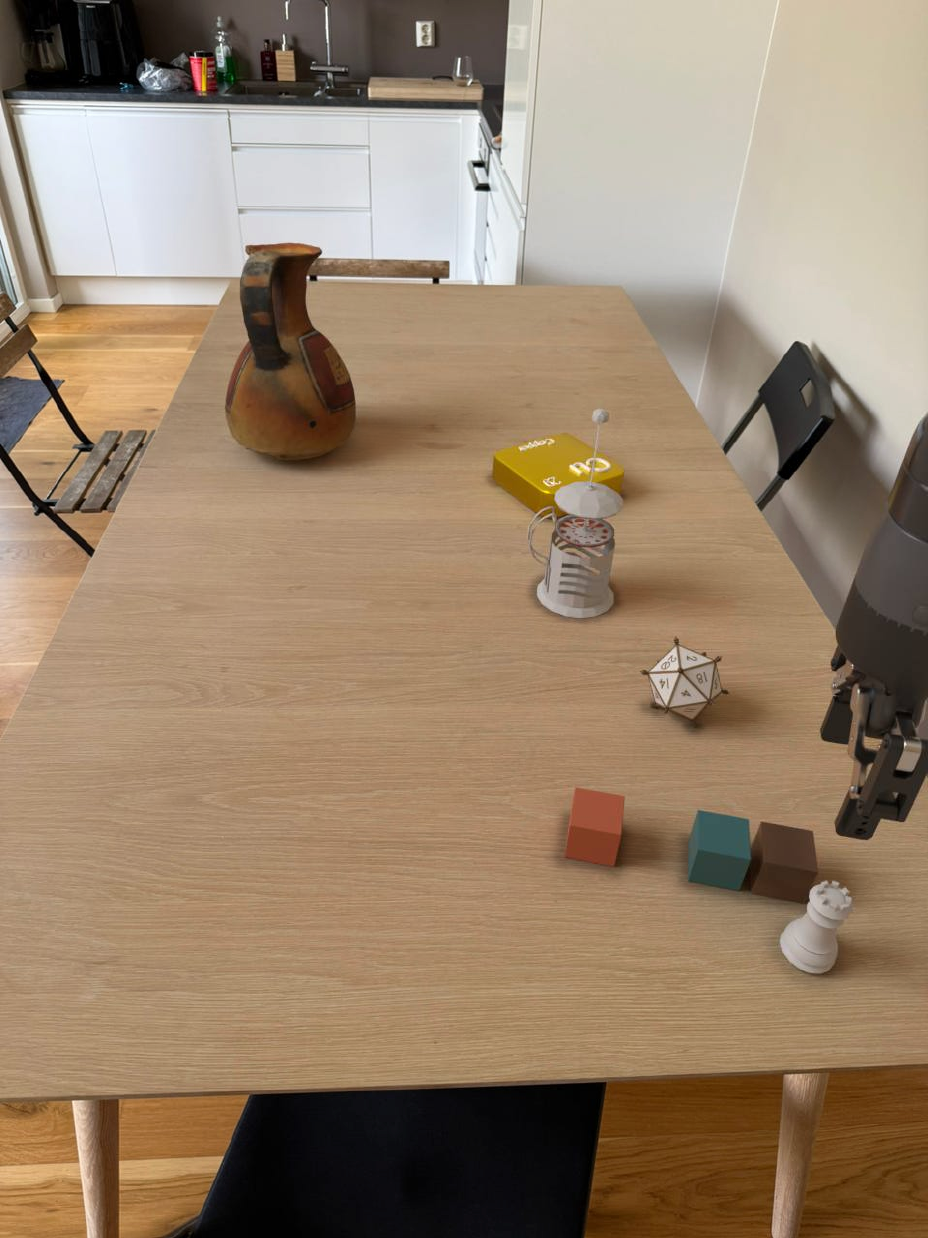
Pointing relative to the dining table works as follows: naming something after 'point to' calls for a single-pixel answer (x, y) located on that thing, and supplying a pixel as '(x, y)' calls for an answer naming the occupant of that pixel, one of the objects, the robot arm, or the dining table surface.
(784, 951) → the rook chess piece
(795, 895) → the walnut block
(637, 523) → the dining table surface
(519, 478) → the element tile
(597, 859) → the terracotta block
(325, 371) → the ceramic pitcher
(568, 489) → the french press
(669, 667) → the game die
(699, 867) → the teal block
